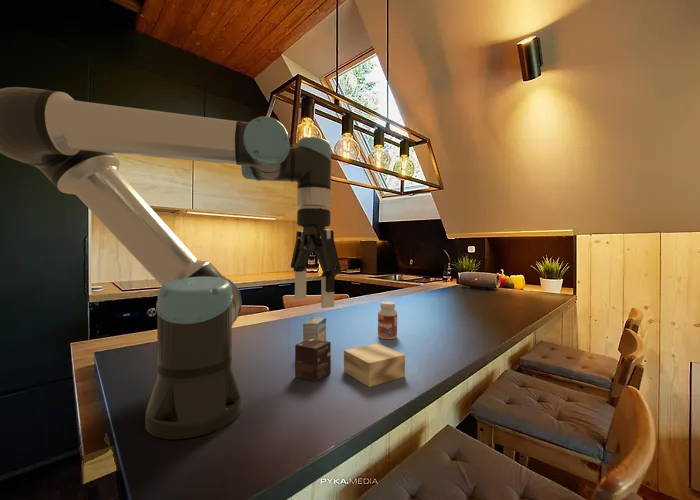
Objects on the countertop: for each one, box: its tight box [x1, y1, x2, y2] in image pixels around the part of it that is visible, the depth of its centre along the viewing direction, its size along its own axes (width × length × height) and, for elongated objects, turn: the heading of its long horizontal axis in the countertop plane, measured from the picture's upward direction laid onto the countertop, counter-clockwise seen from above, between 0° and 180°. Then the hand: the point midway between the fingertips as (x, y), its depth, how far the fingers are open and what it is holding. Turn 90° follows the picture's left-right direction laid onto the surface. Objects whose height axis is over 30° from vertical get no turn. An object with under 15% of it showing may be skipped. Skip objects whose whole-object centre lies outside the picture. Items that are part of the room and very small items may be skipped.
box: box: [294, 339, 332, 382], centre depth 75 cm, size 6×6×7 cm
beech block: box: [343, 343, 406, 388], centre depth 75 cm, size 10×10×5 cm
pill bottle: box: [377, 301, 398, 340], centre depth 106 cm, size 6×6×11 cm
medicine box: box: [302, 316, 327, 342], centre depth 92 cm, size 8×4×9 cm, turn 168°
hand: (313, 302), depth 75 cm, fingers open, 13 cm apart
